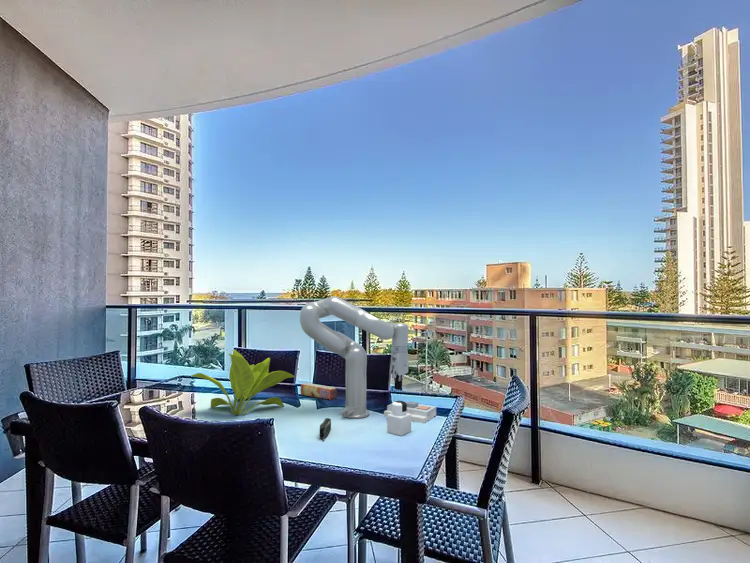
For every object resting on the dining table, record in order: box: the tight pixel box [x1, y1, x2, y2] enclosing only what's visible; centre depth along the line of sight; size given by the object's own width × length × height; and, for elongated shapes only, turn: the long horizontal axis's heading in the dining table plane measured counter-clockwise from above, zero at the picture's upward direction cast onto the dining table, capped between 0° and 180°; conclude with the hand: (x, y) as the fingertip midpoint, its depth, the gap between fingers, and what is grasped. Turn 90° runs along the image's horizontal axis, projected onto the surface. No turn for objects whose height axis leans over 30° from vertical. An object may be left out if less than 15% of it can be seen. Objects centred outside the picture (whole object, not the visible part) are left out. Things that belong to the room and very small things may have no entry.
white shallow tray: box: [383, 401, 437, 424], centre depth 185 cm, size 13×20×4 cm, turn 58°
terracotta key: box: [417, 406, 430, 410], centre depth 183 cm, size 4×4×2 cm
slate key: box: [406, 400, 419, 408], centre depth 186 cm, size 4×4×2 cm
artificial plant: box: [191, 349, 295, 416], centre depth 192 cm, size 42×43×30 cm
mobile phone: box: [319, 417, 332, 441], centre depth 160 cm, size 5×3×15 cm
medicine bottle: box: [386, 400, 412, 437], centre depth 163 cm, size 7×7×12 cm
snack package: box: [300, 382, 338, 401], centre depth 219 cm, size 21×7×7 cm, turn 58°
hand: (398, 389), depth 189 cm, fingers closed
